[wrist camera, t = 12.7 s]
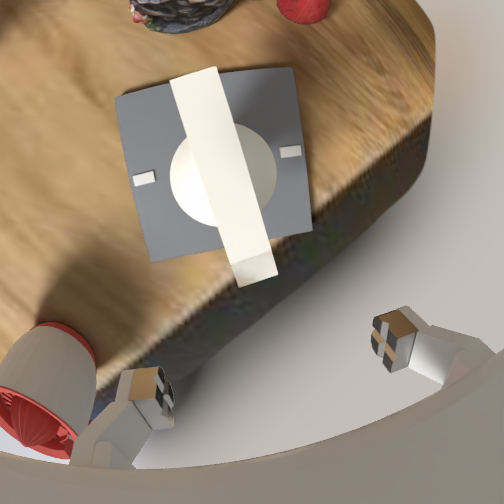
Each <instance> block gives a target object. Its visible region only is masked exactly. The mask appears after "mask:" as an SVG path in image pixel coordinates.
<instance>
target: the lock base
mask: <svg viewBox="0 0 504 504" xmlns="http://www.w3.org/2000/svg"><path fill="white" fill-rule="evenodd" d="M219 77H220V80H221V83H222V86H223V90H224V93H225V96H226V99H227V102H228V106H229V109H230V112H231V115H232V119H233V122H234V123H235V124H239V125H243V126H245V127H247V128H249V129H251V130H253V131H254V132H256V133H257V134H258V135H259V136H261V137H262V139H263V140H264V141H265V142H266V143H267V145H268V146H269V148H270V149H271V151H272V153H273V156H274V159H275V163H276V171H277V176H276V184H275V188H274V191H273V194H272V196H271V198H270V200H269V201H268V203H267V204H266V206H265V207H264V208H263V209H262V210H261V211H260V212H261V216H262V219H263V223H264V226H265V230H266V233H267V237H268V239H272V238H278V237H283V236H288V235H293V234H298V233H303V232H309V231H312V220H311V208H310V197H309V187H308V177H307V167H306V159H305V150H304V142H303V134H302V126H301V119H300V112H299V105H298V98H297V91H296V85H295V79H294V73H293V67H281V68H266V69H255V70H245V71H236V72H229V73H221V74H219ZM115 105H116V112H117V118H118V124H119V130H120V135H121V141H122V146H123V151H124V156H125V161H126V166H127V170H128V175H129V179H130V184H131V188H132V192H133V197H134V201H135V205H136V209H137V213H138V217H139V220H140V224H141V228H142V232H143V235H144V239H145V242H146V246H147V249H148V253H149V256H150V260H151V263H152V262H157V261H162V260H167V259H172V258H177V257H182V256H187V255H192V254H197V253H202V252H207V251H212V250H217V249H222V248H225V247H224V244H223V242H222V239H221V236H220V233H219V230H218V227H216V226H210V225H206V224H203V223H201V222H199V221H197V220H195V219H193V218H192V217H190V216H189V215H188V214H187V213H186V212H185V211H184V210H183V209H182V208H181V207H180V206H179V204H178V202H177V201H176V199H175V197H174V195H173V192H172V188H171V183H170V168H171V163H172V159H173V157H174V154H175V152H176V150H177V149H178V147H179V146H180V144H181V143H182V142H183V140H185V139H186V138H187V135H186V132H185V129H184V126H183V122H182V119H181V116H180V113H179V110H178V107H177V104H176V100H175V97H174V94H173V91H172V88H171V84H170V83H167V84H163V85H159V86H155V87H151V88H147V89H143V90H139V91H136V92H132V93H129V94H125V95H122V96H119V97H115Z"/></svg>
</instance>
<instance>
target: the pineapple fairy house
mask: <svg viewBox="0 0 504 504" xmlns="http://www.w3.org/2000/svg"><path fill="white" fill-rule="evenodd" d="M129 1H130V7H129V8H130V12H131V13H133V14H132V18H133V20H134V22H136V23H140V24H144V25H145V26H146V27H147V28H148V29H149V30H151V31H156V32H161V33H167V34H180V33H188V32H192V31H196V30H199V29H202V28H205V27H207V26H209V25H211V24H213V23H214V22H215V21H217V20H218V19H219V18H220V17H221V16H222V15H223V14H224V13H225V12H226V10H227V9H228V8H229V7H230V5H231V4H232V2H233V1H234V0H129Z"/></svg>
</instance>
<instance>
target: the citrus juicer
mask: <svg viewBox="0 0 504 504" xmlns="http://www.w3.org/2000/svg"><path fill="white" fill-rule="evenodd" d="M96 373H97V372H96V362H95V357H94V354H93V351H92V349H91V347H90V346H89V344H88V343H87V341H86V340H85V339H84V338H83V337H82V336H81V335H80V334H78V333H77V332H76V331H74V330H73V329H71V328H70V327H68V326H66V325H63V324H60V323H56V322H46V323H42V324H40V325H37V326H35V327H33V328H32V329H31V330H30V331H29V332H27V333H26V334H24V335H23V336H22V337H21V338H19V339H18V340H17V341H16V342H15V344H14V345H13V346H12V348H11V349H10V350H9V352H8V353H7V355H6V357H5V358H4V360H3V361H2V363H1V365H0V426H1V427H2V428H3V429H4V430H5V431H6V432H7V433H9V434H10V435H11V436H12V437H14V438H15V439H17V440H18V441H20V442H21V443H22V445H23V446H25V447H29V448H32V449H33V450H36V451H38V452H40V453H42V454H45V455H48V456H51V457H55V458H60V459H70V458H71V453H72V449H73V445H74V441H75V439H76V438H77V437H78V436H79V435H80V434H81V433H82V432H83V431H84V430H85V429H86V428H87V427H88V426H89V424H90V423H91V420H90V416H91V412H92V408H93V404H94V399H95V394H96Z"/></svg>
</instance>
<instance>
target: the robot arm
mask: <svg viewBox="0 0 504 504" xmlns="http://www.w3.org/2000/svg"><path fill="white" fill-rule="evenodd" d="M373 327H374V328H375V330H374V331H373V333H372V334H371V343H372V348H373V350H374V352H375V353H376V355H377V356H379V357H382V358H383V362H382V363H383V364H384V366H385V367H386V368H387V370H388V371H389V372H390V373H393V372H395V371H398V370H400V369H403V368H405V367H408V368H410V369H412V370H414V371H416V372H418V373H420V374H422V375H424V376H426V377H428V378H430V379H432V380H434V381H436V382H439V383H440V384H442V385H443V386H442V389H441V390H439V391H437V392H436V393H434V394H432V395H430V396H429V397H427V398H424V399H423V400H421V401H419V402H417V403H415V404H413V405H411V406H409V407H406V408H404V409H402V410H400V411H398V412H396V413H394V414H391V415H389V416H387V417H385V418H382V419H380V420H378V421H375V422H373V423H370V424H368V425H366V426H363V427H360V428H358V429H355V430H352V431H349V432H347V433H344V434H341V435H338V436H335V437H332V438H330V439H326V440H323V441H320V442H316V443H313V444H310V445H306V446H303V447H300V448H295V449H291V450H288V451H284V452H279V453H275V454H271V455H266V456H261V457H256V458H251V459H246V460H240V461H235V462H228V463H221V464H214V465H205V466H197V467H184V468H170V469H136V468H135V467H134V466H133V465H132V462H133V460H134V459H135V457H136V456H137V454H138V453H139V451H140V450H141V448H142V447H143V445H144V444H145V442H146V441H147V439H148V438H149V436H150V434H151V433H152V430H159V429H168V428H173V427H174V426H173V425H174V424H173V423H174V414H173V412H172V410H171V408H172V407H173V405H174V396H173V391H172V387H171V385H170V383H169V381H167V380H165V373H164V371H163V369H162V367H151V368H142V369H134V370H124V371H123V372H122V373H121V377H120V381H119V385H118V390H117V394H116V399H115V402H111V403H110V404H109V405H108V406H107V407H106V408H105V409H104V410H103V411H102V412H101V413H100V414H99V415H98V416H97V417H96V418H95V419H94V420H93V421H92V422H91V423H90V424H89V426H88V427H87V428H86V429H85V430H84V431H83V432H82V433H81V434H80V435H79V436H78V437H77V438H76V439H75V441H74V445H73V449H72V453H71V458H70V462H69V465H66V464H59V463H51V462H46V461H41V460H35V459H31V458H26V457H21V456H17V455H13V454H10V453H6V452H1V451H0V504H504V349H503V350H501V351H500V352H499V353H497V354H495V353H494V352H493V351H492V350H491V349H490V348H489V347H488V346H487V345H485V344H484V343H483V342H482V341H481V340H480V339H479V338H475V337H472V336H468V335H465V334H461V333H458V332H454V331H451V330H447V329H443V328H440V327H436V326H433V325H432V326H429V325H428V324H427V323H426V322H425V321H424V320H422V319H421V318H420V317H419V316H418V315H417V314H416V313H415V312H414V311H413V310H412V309H411V308H410V307H408V306H404V307H401V308H398V309H396V310H393V311H390V312H388V313H385V314H382V315H379V316H376V317H374V319H373Z"/></svg>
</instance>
